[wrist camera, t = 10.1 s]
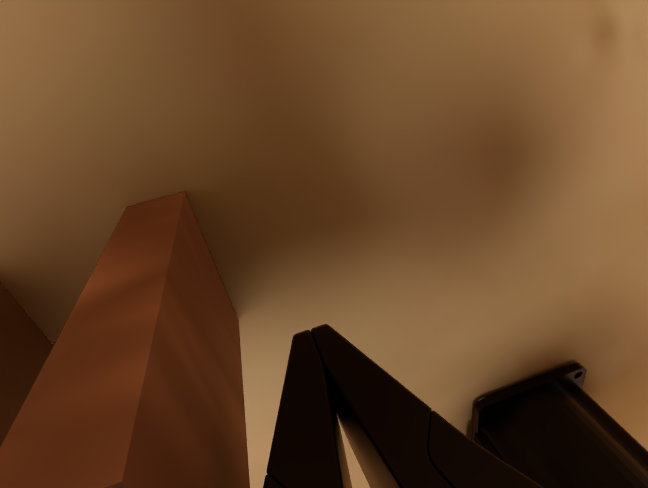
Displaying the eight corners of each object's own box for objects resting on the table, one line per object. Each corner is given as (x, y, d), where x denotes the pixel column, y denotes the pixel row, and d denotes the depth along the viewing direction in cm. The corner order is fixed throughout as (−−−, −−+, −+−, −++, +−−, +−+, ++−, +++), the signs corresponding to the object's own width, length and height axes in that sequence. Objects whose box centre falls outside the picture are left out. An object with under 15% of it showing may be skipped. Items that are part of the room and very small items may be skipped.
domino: (184, 191, 10) (121, 481, 4) (238, 320, 13) (259, 628, 6) (126, 207, 10) (-49, 540, 4) (193, 334, 13) (165, 666, 6)
